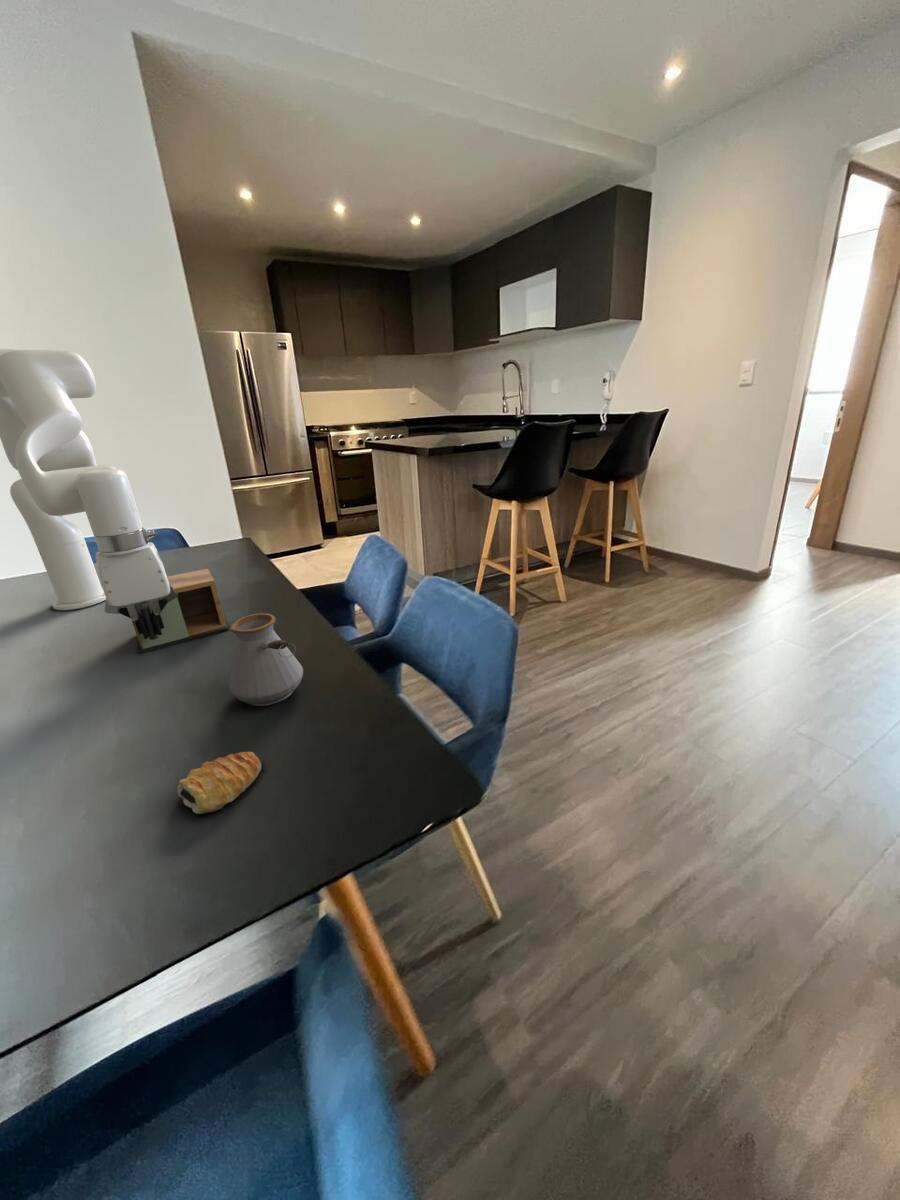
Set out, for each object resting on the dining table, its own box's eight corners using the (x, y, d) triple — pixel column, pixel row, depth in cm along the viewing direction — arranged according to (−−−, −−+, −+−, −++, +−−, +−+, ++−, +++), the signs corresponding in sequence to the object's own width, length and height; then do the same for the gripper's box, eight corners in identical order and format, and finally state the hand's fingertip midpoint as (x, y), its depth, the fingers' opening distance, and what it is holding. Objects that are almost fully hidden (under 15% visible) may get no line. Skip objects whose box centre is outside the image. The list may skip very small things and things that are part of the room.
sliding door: (191, 644, 97) (177, 598, 94) (144, 657, 94) (127, 609, 90) (188, 636, 101) (175, 591, 97) (143, 647, 97) (127, 601, 94)
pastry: (243, 755, 66) (237, 732, 65) (274, 774, 63) (268, 750, 61) (175, 801, 59) (166, 776, 58) (205, 825, 56) (197, 799, 54)
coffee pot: (224, 691, 82) (201, 609, 76) (291, 666, 88) (274, 589, 82) (266, 757, 66) (241, 659, 60) (344, 721, 72) (328, 630, 66)
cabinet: (228, 630, 104) (215, 581, 100) (142, 652, 97) (124, 601, 93) (219, 613, 113) (207, 568, 109) (140, 632, 106) (124, 585, 101)
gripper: (170, 529, 93) (195, 617, 101) (70, 545, 86) (105, 639, 93) (173, 537, 88) (200, 629, 95) (66, 555, 80) (104, 654, 87)
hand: (152, 633), depth 94 cm, fingers closed
